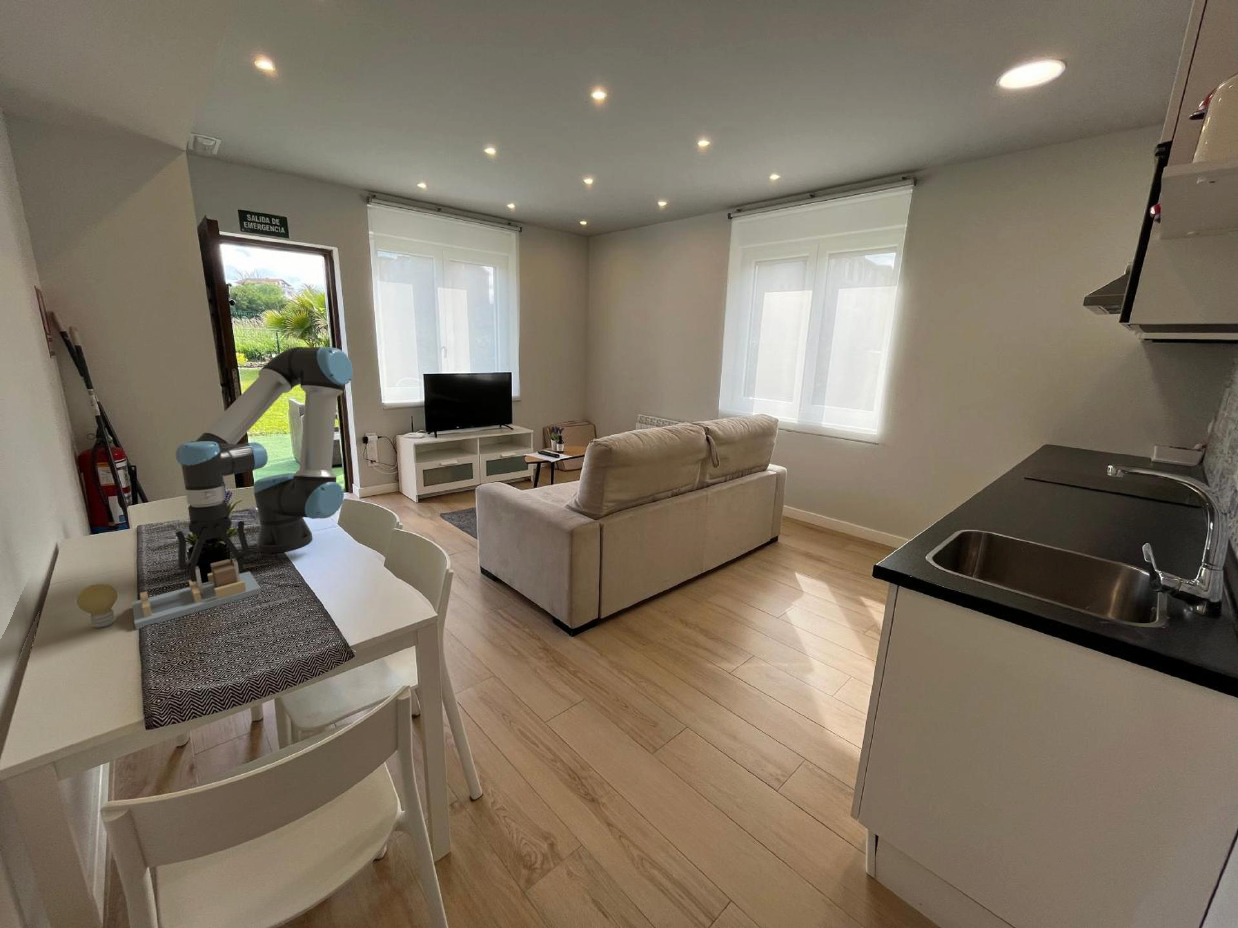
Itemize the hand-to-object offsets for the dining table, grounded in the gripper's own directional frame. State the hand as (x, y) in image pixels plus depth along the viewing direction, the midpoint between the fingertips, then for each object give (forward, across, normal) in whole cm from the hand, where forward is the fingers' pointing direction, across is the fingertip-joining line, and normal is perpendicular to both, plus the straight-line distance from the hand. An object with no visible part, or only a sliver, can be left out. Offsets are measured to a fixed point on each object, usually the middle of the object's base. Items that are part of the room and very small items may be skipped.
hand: (219, 587), depth 129 cm
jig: (+2, -4, 0) cm, 5 cm away
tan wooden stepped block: (0, +1, 0) cm, 1 cm away
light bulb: (+3, -21, +1) cm, 22 cm away
